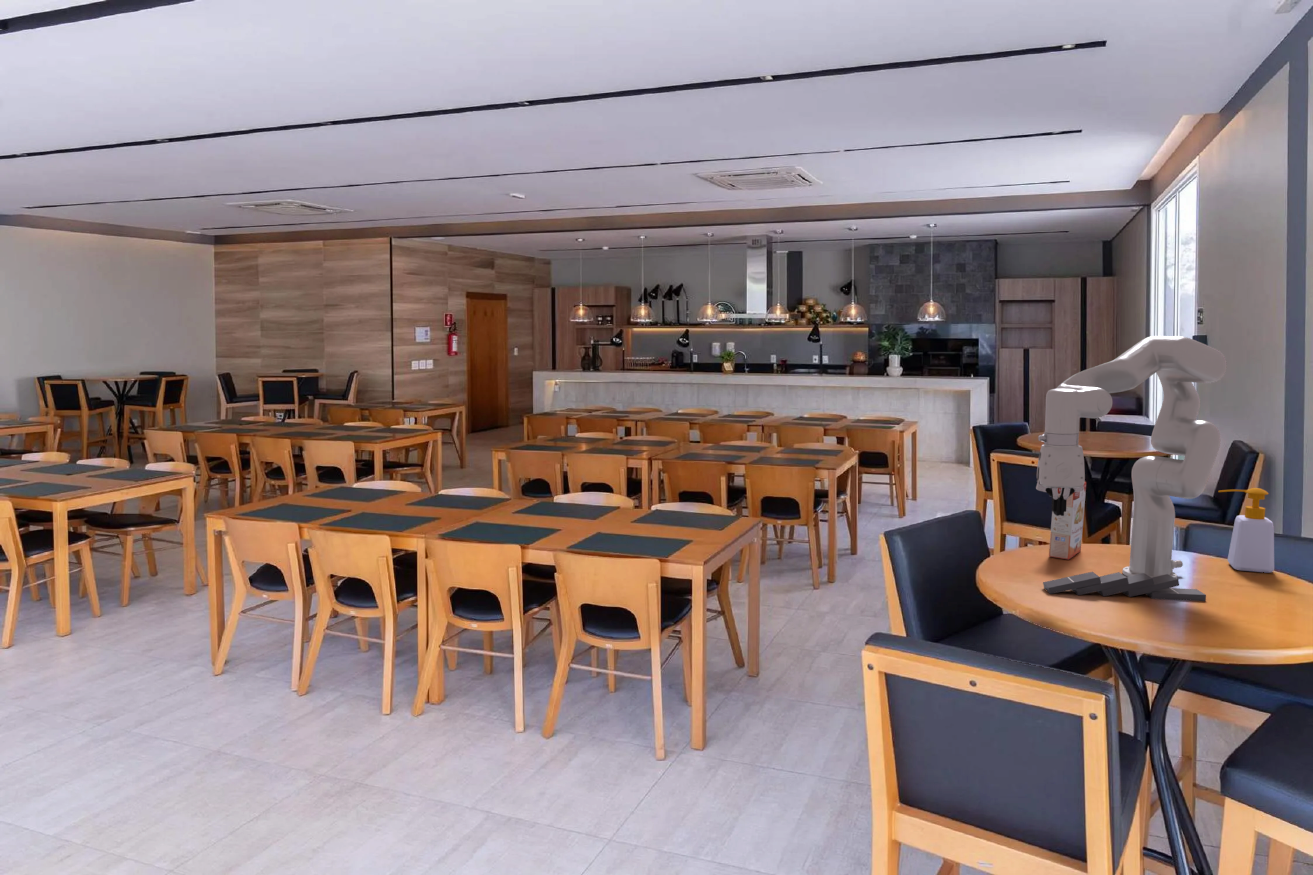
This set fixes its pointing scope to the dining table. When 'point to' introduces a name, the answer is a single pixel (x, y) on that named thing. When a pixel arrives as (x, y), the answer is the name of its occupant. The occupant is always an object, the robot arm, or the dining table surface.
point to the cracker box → (1068, 527)
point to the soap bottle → (1252, 537)
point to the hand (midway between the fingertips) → (1058, 514)
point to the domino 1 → (1071, 582)
